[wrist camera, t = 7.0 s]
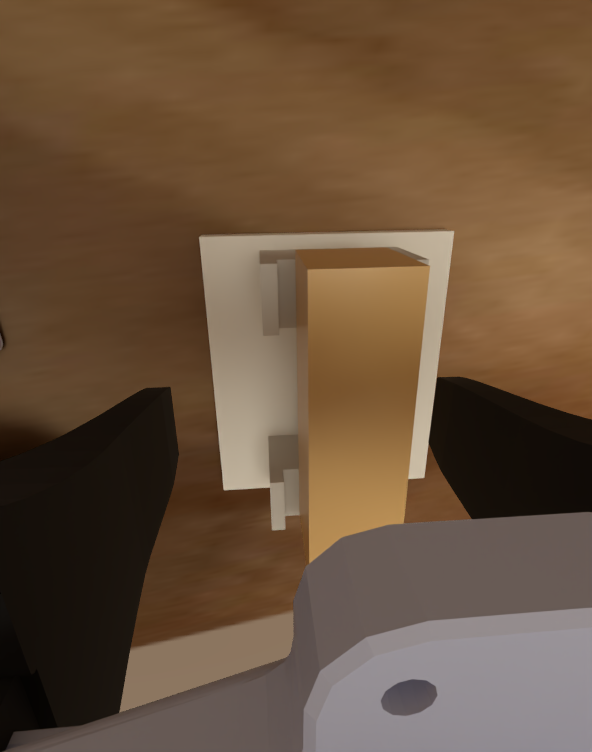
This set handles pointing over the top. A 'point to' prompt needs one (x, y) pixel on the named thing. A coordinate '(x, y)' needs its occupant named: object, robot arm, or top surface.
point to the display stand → (292, 349)
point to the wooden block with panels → (356, 387)
